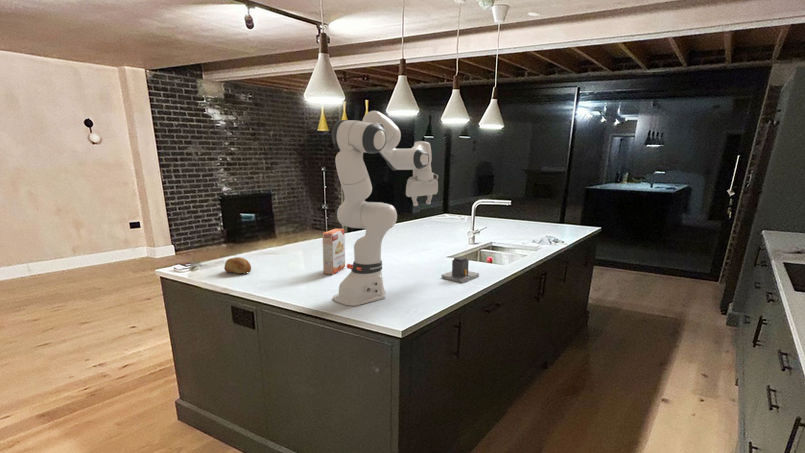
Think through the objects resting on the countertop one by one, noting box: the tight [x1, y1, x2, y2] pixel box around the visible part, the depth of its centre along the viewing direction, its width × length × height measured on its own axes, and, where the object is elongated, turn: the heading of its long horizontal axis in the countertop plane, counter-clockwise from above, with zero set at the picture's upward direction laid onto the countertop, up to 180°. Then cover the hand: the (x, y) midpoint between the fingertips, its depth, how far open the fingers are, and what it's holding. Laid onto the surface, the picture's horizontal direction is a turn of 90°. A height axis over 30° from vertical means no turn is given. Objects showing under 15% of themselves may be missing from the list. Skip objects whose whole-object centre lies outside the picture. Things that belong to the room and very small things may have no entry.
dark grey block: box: [451, 255, 469, 277], centre depth 188 cm, size 6×6×8 cm
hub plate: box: [440, 270, 480, 284], centre depth 189 cm, size 14×12×6 cm
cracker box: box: [322, 228, 346, 275], centre depth 200 cm, size 14×6×21 cm, turn 163°
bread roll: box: [223, 256, 252, 274], centre depth 199 cm, size 10×15×8 cm, turn 67°
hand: (422, 205), depth 191 cm, fingers open, 8 cm apart
